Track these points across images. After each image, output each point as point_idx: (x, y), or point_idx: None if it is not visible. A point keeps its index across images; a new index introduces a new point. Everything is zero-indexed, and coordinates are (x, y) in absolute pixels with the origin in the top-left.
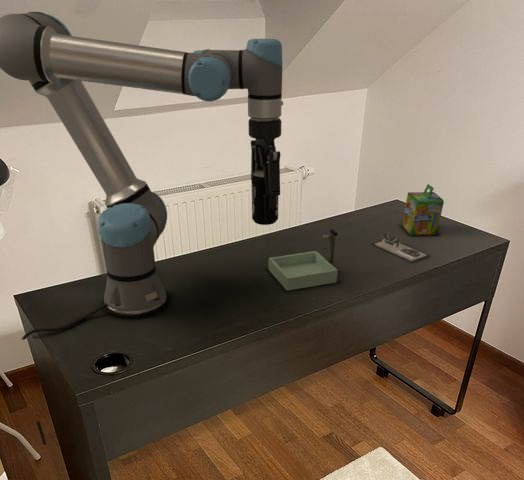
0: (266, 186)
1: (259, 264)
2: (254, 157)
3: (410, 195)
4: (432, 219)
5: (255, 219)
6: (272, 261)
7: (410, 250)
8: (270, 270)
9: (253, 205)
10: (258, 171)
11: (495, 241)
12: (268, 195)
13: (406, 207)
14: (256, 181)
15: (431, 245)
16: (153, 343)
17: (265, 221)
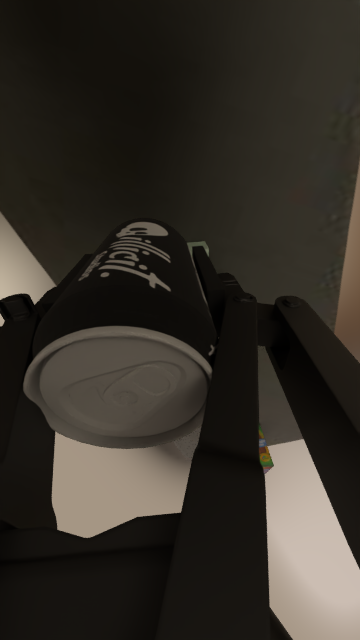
0: (2, 344)
1: (233, 230)
2: (257, 507)
3: (264, 464)
4: None
5: (119, 225)
6: (190, 251)
7: None
8: (194, 242)
9: (122, 234)
10: (207, 374)
11: (190, 458)
12: (10, 319)
13: (263, 446)
14: (55, 310)
15: (201, 426)
16: None
17: (84, 256)
